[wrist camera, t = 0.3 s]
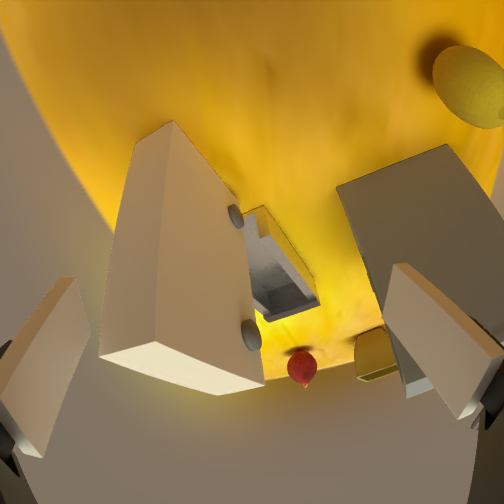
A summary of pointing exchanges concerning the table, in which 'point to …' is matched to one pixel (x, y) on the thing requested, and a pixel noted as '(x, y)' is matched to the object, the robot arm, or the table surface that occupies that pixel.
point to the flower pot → (374, 355)
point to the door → (180, 274)
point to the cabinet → (430, 240)
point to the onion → (302, 367)
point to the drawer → (276, 269)
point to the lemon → (470, 85)
